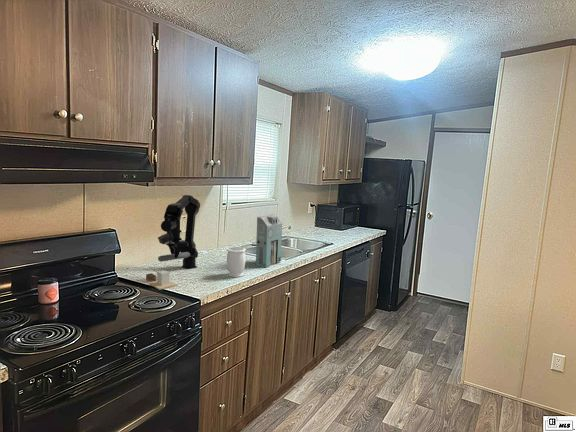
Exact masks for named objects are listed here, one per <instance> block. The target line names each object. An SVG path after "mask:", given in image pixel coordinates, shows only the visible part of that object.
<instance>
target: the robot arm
mask: <svg viewBox="0 0 576 432" xmlns="http://www.w3.org/2000/svg"><path fill="white" fill-rule="evenodd" d="M200 208H201V203H200V201H199V200H198V199H196V198H195V197H194V196H193V195H190V194H189V195H188V194H183V195H182V197H181V198H180V199H178V200H177V201H176V202H175V203H170V204H168V205H167V207H166V209H165V213H164V216H163V218H164V220H163V221H161V224H160V228H161V230H162V231H164V232H165V233H164V234H162V235H160V236H158V237H157V239H158V240H157V241H158V242H159V244H162V245H166V246H167V247H168V248H169V252H170V254H174V255H175V258H177V257H178V255H179V253H183V252H189V253H190V256H189V257H187V258H182V259H183V260H182V266H181V267H182V268H185V269H186V270H189V269H195V268H198V266H197V265H196V262H197V261H196V259H197V258H198V257H199V252H198V250H197V247H196V246H197V245H196V243H195V241H194V237H195V235H194V234H195V225H196V217H197V214H198V213H199V211H200ZM184 211H185V213H186V223H185V234H184V235H185V236H184V239H182V237H181V234H182V231H183V230H181V220H182V214H183V213H184Z"/></svg>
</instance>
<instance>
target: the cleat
mask: <svg viewBox="0 0 576 432" xmlns="http://www.w3.org/2000/svg"><path fill="white" fill-rule="evenodd" d="M145 278H146V279H145V280H146V281H148V282H153V281H157V274H154V273H152V272H151V273H150V272H149V273H146V274H145Z"/></svg>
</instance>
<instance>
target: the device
mask: <svg viewBox="0 0 576 432" xmlns="http://www.w3.org/2000/svg"><path fill="white" fill-rule="evenodd" d="M282 234H283V222H282V220H281V219H280V217H279V216H278V215H276V214H273V213H272V214H266V215H261V216H257V217H256V242H255V243H256V244H255V245H256V249H255V251H256V252H255V266H256V267H260V268H265V269H266V268H269V267H271V266H274V265H277V264H278V263H281V262H282V240H283V239H282V236H283V235H282Z"/></svg>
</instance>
